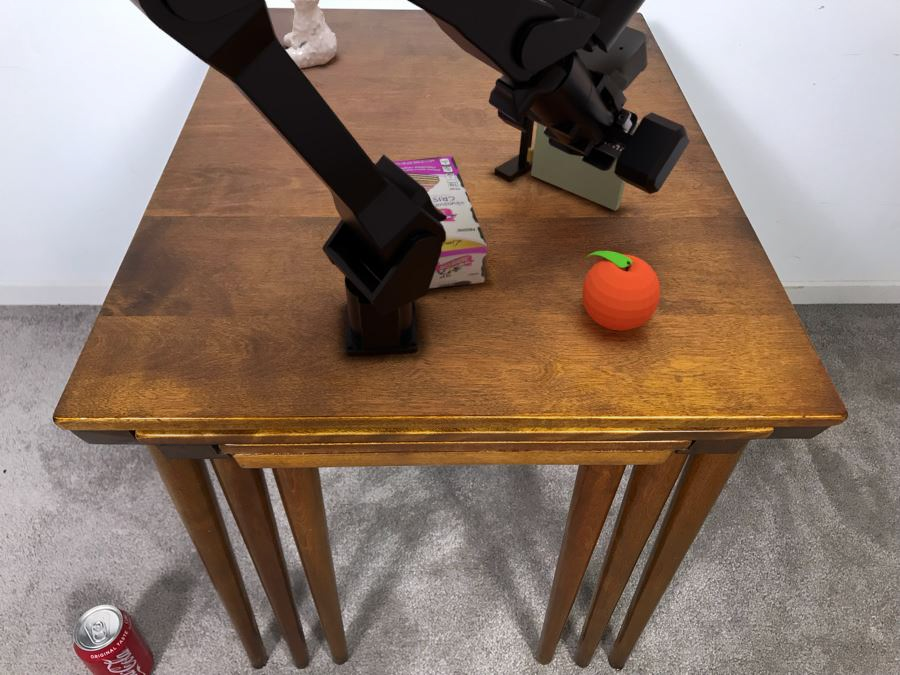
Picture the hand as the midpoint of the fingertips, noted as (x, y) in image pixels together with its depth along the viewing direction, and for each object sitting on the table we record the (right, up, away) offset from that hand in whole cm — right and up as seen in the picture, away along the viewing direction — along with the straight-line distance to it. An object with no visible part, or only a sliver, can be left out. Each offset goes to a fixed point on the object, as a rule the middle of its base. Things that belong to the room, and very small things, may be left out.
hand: (612, 155), depth 75 cm
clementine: (-2, -17, -7) cm, 19 cm away
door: (-3, -3, +7) cm, 8 cm away
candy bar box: (-22, -1, +4) cm, 23 cm away
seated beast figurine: (-38, +22, +30) cm, 53 cm away
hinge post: (-9, +1, +10) cm, 13 cm away
